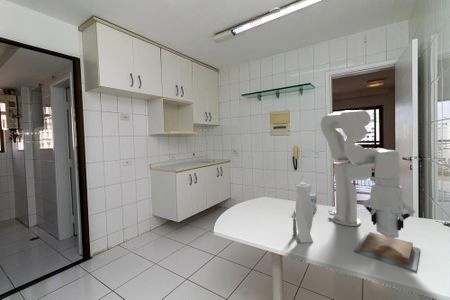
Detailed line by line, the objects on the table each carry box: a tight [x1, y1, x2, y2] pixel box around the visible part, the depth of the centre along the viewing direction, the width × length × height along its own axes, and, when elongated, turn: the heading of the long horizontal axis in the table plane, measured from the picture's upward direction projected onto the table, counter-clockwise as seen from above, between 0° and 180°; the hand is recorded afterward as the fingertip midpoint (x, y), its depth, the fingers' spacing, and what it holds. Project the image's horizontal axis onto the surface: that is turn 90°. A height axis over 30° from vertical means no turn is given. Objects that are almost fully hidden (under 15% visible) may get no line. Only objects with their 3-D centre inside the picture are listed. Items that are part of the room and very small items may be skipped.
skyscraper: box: [292, 178, 314, 244], centre depth 92 cm, size 8×8×28 cm
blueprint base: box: [353, 231, 421, 273], centre depth 80 cm, size 18×18×3 cm
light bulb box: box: [310, 192, 318, 214], centre depth 127 cm, size 11×7×11 cm, turn 58°
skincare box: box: [376, 206, 400, 239], centre depth 80 cm, size 6×4×12 cm
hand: (386, 226), depth 80 cm, fingers closed on skincare box, 7 cm apart
